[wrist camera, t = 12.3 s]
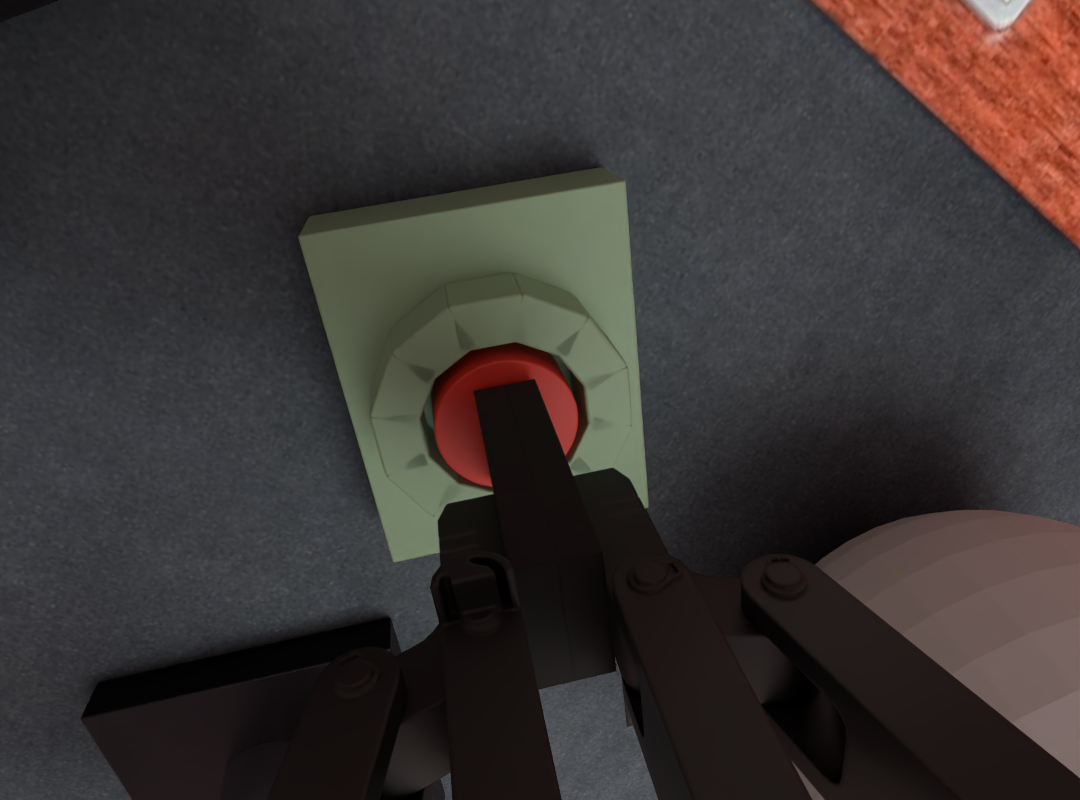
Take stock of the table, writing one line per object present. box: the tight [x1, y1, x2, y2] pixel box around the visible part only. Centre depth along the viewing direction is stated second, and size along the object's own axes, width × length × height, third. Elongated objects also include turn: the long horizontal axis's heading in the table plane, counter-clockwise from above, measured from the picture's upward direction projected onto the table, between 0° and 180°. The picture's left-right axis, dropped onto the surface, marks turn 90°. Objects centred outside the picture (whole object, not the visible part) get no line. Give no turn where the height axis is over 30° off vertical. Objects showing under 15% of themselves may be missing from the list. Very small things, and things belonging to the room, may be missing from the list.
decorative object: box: [792, 510, 1080, 800], centre depth 22 cm, size 15×15×15 cm
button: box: [432, 342, 578, 487], centre depth 18 cm, size 4×4×2 cm
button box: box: [298, 167, 649, 562], centre depth 20 cm, size 10×8×4 cm
